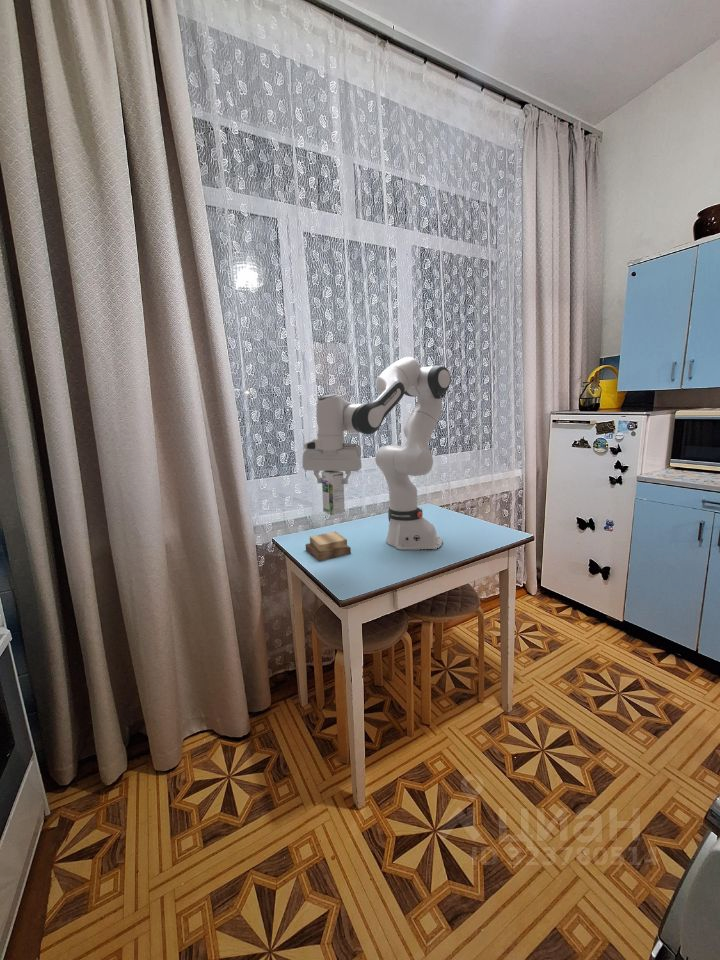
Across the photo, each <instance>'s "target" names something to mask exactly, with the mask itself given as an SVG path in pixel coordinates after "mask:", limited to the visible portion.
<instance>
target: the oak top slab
mask: <svg viewBox="0 0 720 960" xmlns="http://www.w3.org/2000/svg"><path fill="white" fill-rule="evenodd" d="M309 543H310V544H311V545H312V546H313V547H314V548H315V549H316V550H317V551H319V552H320V553H322V552H327V551H332V550H336V549H341V548H346V547H347V546H348V539H347V538H346V537H344V536H343V535H341V534H340V533H339V532H337V531H332V532H331V531H330V532H326V533H321V534H315V535H310V536H309Z"/></svg>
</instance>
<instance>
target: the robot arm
mask: <svg viewBox="0 0 720 960" xmlns="http://www.w3.org/2000/svg"><path fill="white" fill-rule="evenodd" d="M451 381H452V377H451V373H450V371H449V369H448V367H445V366H443V365H433V366H423V367H421V365H420V364H419V362H418V361H417V360H416V358H414V357H412V356H405V357H403V358H400V359H399V360H396V361H395V362H393V363H392V364H391V365H389V366H388V367H386V368H385V369H384V370H383V371H381V373H380V374H379V376H378V377H377V380H376V385H377V390H378V393H379V396H378V397H376V399H375V400H374V401H371V402H365V403H352V402H350V401H347V400H346V399H344V398H343V397H342V396H341V394H338V393H330V394H325V395H321V396H320V397H319V398H318V400H317V401H316V402H317V403H316V425H317V433H316V434H317V435H316V436H317V439H312V440H310V441H308V442H305V443H304V444H303V449H304V451H303V453H302V462H301V463H302V468H303V469H304V471H307V472H308V471H313V475H314V476H315V478H316V479H317V480H316V481H317V482H316V483H317V484H322V476H320V474H319V473H320V471H321V472H323V471H340V472H345V477H344V479H342V481H343V484H344V485H348V484H349V478H350V477H351V476H350V475H351V474H352V472H359V471H360V470H361V468H362V459H361V455H362V448H361V446H360V445H359V444H357V443H353V442H352V443H349V442H348V443H346V442H345V436H344V435H345V433H344V431H345V432H348V433H349V432H350V433H360V434H363V435H372V434H374V433H376V432H377V431H378V430H379V429H380V428H381V425H382V424H383V422H384V420H385V418H386V417H387V415H388V414H390V412H392V410H394V408H395V407H396V406H397V405H398V404H399V403H400V401H401V400H402V399H403V397H404V396H405V395H406V396H407V397H412V398H413V397H417V402H416V404H415V405H414V407H413V410H412V411H411V413H410V415H409V417H408V419H407V420H406V423H405V425H404V427H403V435H404V436H405V438H406V439H407V440H406V443H405V444H404V445H397V444H396V445H395V444H389V445H388V444H387V445H383V446H380V447H379V448H378V449H377V450H376V454H375V464H376V466H377V467H378V469H380V470H381V472H382V473H383V475H384V478H385V481H386V484H387V488H388V497H389V499H388V500H389V503H388V504H389V507H388V510H387V512H388V513H387V516H388V531H387V535H386V540H385V541H386V543H387V545H389V546H392V547H394V548H395V549H397V550H405V551H406V550H413V551H414V550H416V551H417V550H420V549H422V550H423V549H425V550H426V549H433V550H438V549H440V548H441V547H442V545H443V538H442V537H441V536H440V535H438V534H437V530H436V527H435V525H434V524H433V523H431V522H430V521H429V520H428V519H426V518H424V517H423V515H424V514H423V508H420V507H418V489H417V487H416V485H415V484H414V483H413V482H412V481H411V479H410V477H409V476H412V477H420V476H421V477H422V476H426V475H427V474H429V473H430V472H431V470H432V468H433V464H434V459H433V456H432V453H431V452H430V449H429V443H430V440H431V437H432V434H433V432H434V430H435V428H436V426H437V424H438V421H439V419H440V415H441V413H442V409H443V401H442V398H444V397H445V396H446V394H447V392H448V389H449V388H450V385H451V383H452V382H451ZM440 546H441V547H440ZM439 547H440V548H439ZM437 548H438V549H437ZM423 551H424V550H423Z"/></svg>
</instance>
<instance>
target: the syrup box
mask: <svg viewBox="0 0 720 960" xmlns="http://www.w3.org/2000/svg"><path fill="white" fill-rule="evenodd" d="M321 478H322V483H321V490H322V494H321V495H322V512H323V513H326V514H328V515H330V516H333V515H334V516H335V515H339V514H342V513H345V510H346V509H345V484H343V481H342V479H344V478H345V477H344V471H321Z"/></svg>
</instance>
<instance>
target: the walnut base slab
mask: <svg viewBox="0 0 720 960" xmlns="http://www.w3.org/2000/svg"><path fill="white" fill-rule="evenodd" d="M306 550H307V553H309V554H310V555H311V556H313V557H314V558H315V559H316V560H317V561H318V562H323V561H326V560H330V559H334V558H339V557H342V556H346V555H349V554H350V555H351V553H352V552H351V550H352V549H351V547H350V546H349V545H347V547H346V548H341V549H336V550H332V551H327V552H322V553H320V552H319V551H317V550H316V549H315V548H314V547H313V546H312V545H311V544H310V542H309V543H306V544H305V551H306Z"/></svg>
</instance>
